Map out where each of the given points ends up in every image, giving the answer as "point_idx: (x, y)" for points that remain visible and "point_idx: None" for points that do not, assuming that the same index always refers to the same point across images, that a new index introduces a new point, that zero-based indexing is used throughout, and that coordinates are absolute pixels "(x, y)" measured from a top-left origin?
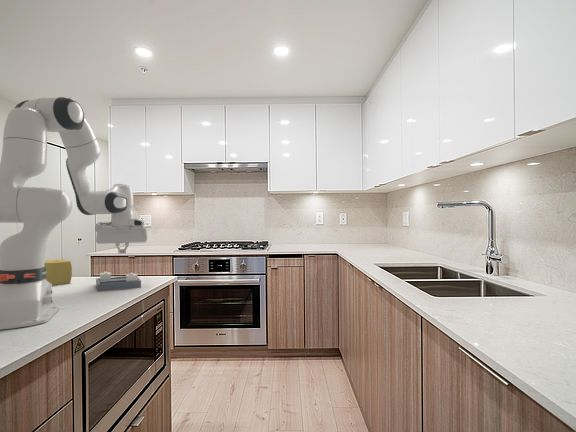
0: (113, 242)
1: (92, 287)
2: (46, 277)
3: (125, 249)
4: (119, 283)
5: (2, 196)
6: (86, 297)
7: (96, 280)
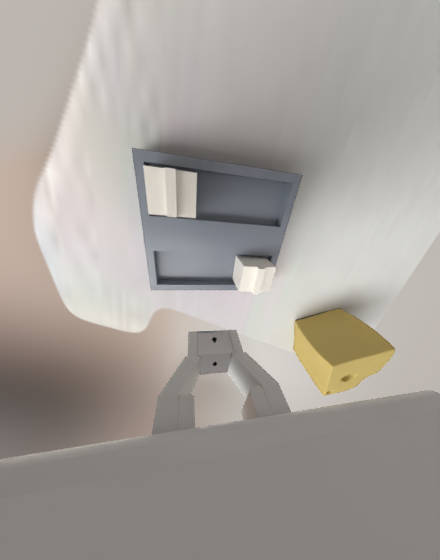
0: (331, 415)
1: None
2: (354, 320)
3: (192, 355)
4: (227, 164)
5: None
6: (358, 65)
7: None
